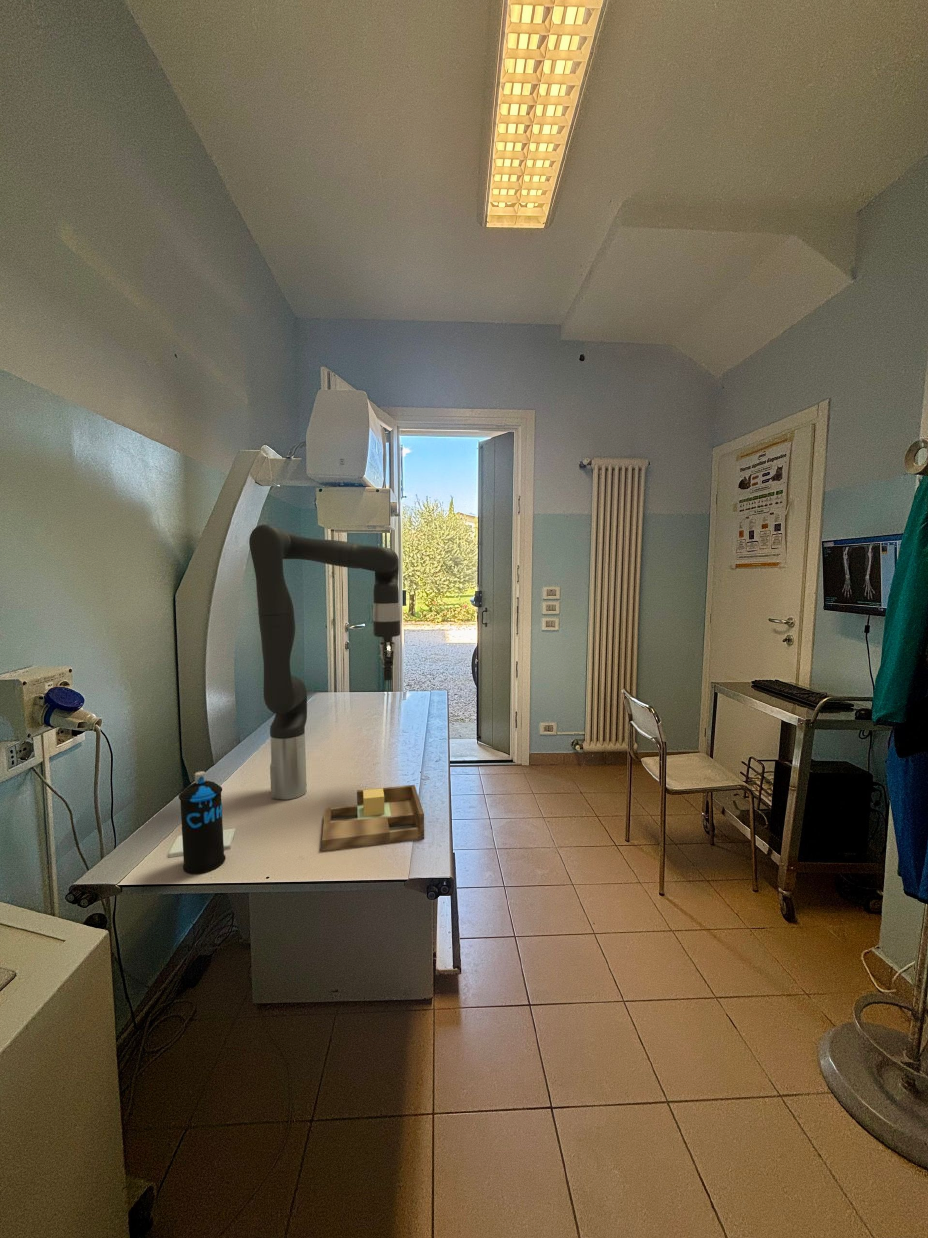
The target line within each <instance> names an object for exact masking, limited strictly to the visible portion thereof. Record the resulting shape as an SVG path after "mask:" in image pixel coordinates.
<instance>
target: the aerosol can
mask: <svg viewBox="0 0 928 1238" xmlns="http://www.w3.org/2000/svg"><path fill="white" fill-rule="evenodd" d="M222 792H223V787H222V786H221V785H219V784H217V783H216V782H214V781H211V780H206V772H205V771H202V770H201V771H197V772H195V773H194V782H193V783H191V784H189V785H187V786H186V787H185V788H184V789H183V790H182V791H181V792H180V794H179V795H178V799H179V801H180V802H179V803H180V817H181V818H180V820H181V835H182V840H183V856H182V857H183V865H182V871H183V872H185V873H187V874H190V875H200V874H205V873H208V872H212V871H214V870H216V869H218V868H219V867H221V866H222V865H223V864H224V862H225V861H226V859H227V858H226V855H225V850H224V844H223V830H224V828H223V827H224V825H223V806H222Z"/></svg>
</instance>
